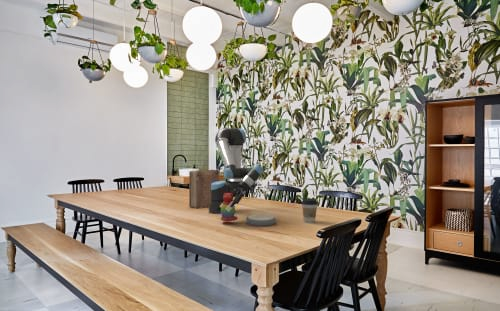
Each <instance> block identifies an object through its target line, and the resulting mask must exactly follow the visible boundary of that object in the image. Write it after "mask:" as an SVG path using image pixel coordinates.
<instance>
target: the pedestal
mask: <svg viewBox="0 0 500 311" xmlns="http://www.w3.org/2000/svg"><path fill="white" fill-rule="evenodd" d="M246 224H247V225H249V226H251V227H270V226H272V227H273V226H274V225H276V217H275V216H273V215H268V214H251V215H248V216H246Z"/></svg>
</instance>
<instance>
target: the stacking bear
mask: <svg viewBox="0 0 500 311" xmlns="http://www.w3.org/2000/svg"><path fill="white" fill-rule="evenodd" d="M223 195H224V196H223V199H224V202H223V204H222V207H221V213H220V214H221V215H220V216H221V218H220V220H221V221H222V222H233V221H237V220H238V216H237V215H235V214H236V206H235V205H234V206H233V207H232V209H231V210H230V211H229V212H228V211H227V210H226V208H227V207H228V206H229V204H230V203H231V202H233V200H234V197H233V194H232V193H224V194H223Z"/></svg>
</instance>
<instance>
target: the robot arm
mask: <svg viewBox="0 0 500 311" xmlns="http://www.w3.org/2000/svg"><path fill="white" fill-rule="evenodd" d="M246 141H247V135H246V132H245V130H244V129H242V128H231V127H230V128H229V127H225V128H221V129H220V130H218V132H216V134H215V138H214V142H215V145H216V147H218V150H219V154H220V156H221V160H222V162H223V165H224V169H223V178H224V179H225V180H219V181H218V182H214V183H212V184H211V203H210V206H208V213H210V214H221V207H222V204H223V202H224V199H223V196H224V195H223V194H224V193H232V194H233V201H232V202H231V203H230V204H229V206H228V207H227V208H226V210H227V211H228V212H229V211H230V210H231V209H232V207H233V206H235V205H238V204H239V203H240V202H241V200H242V199H243V197H244V195H246V194H247V192H248V190H250V187H253V185H254V183H255V182H257V180H258V179H260V177H261V176H262V174H263V173H264V168H263V167H262V166H261V165H260V164H258V163H256V164H255V165H253V166H252V167H242V148H243V147H244V144H245V143H246ZM226 180H227V181H226Z"/></svg>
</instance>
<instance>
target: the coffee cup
mask: <svg viewBox="0 0 500 311" xmlns="http://www.w3.org/2000/svg"><path fill="white" fill-rule="evenodd" d="M300 202H301V203H300V204H301V206H302V216H303V218H302V219H303V222H304V223H308V224H312V223H315V222H316V217H317V209H318V205H319V203H318V201H317V199H315V198H303V199H302V201H300Z"/></svg>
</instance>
